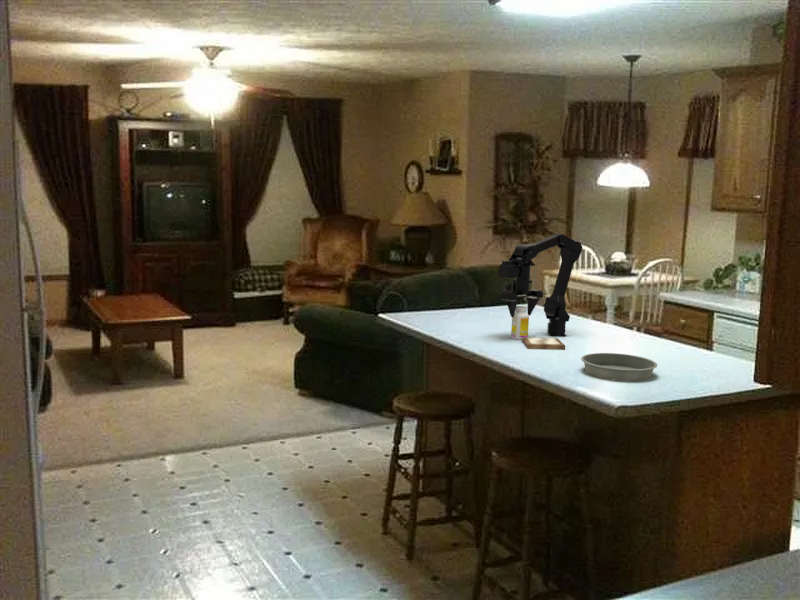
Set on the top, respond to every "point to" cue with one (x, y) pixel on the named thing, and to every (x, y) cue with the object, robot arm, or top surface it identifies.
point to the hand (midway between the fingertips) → (520, 316)
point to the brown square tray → (543, 343)
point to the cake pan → (618, 366)
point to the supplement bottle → (520, 323)
